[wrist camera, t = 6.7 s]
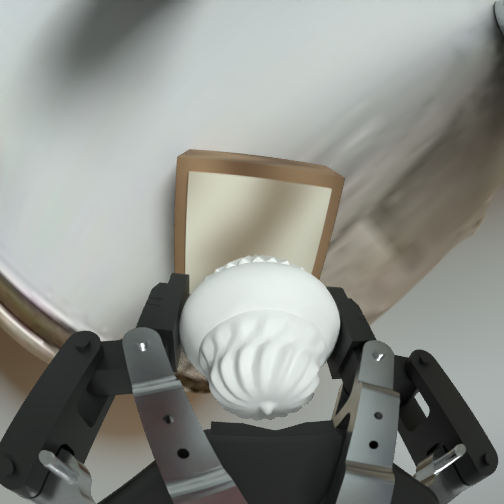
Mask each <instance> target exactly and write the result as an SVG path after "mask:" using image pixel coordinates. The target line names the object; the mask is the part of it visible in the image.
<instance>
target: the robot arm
mask: <svg viewBox="0 0 504 504" xmlns="http://www.w3.org/2000/svg"><path fill="white" fill-rule="evenodd" d="M495 14H496V19H497V22H498V25H499V27H500V30H501V32H502V34H503V37H504V0H498V1H496V3H495ZM326 288H327V290H328V291H329V293H330V294H331V296H332V297H333V299H334V301H335V303H336V306H337V308H338V312H339V316H340V331H339V336H338V339H337V343H336V345H335V348H334V350H333V352H332V354H331V355H330V357H329V358H328V360H327V363H328V366H329V370H330V373H331V376H332V379H342V381H343V383H342V385H341V386H340V389H339V393H338V397H337V400H336V404H335V408H334V411H333V415H332V418H331V420H330V421H320V422H305V423H302V424H299V425H295V426H292V427H288V428H285V429H281V430H270V429H265V428H260V427H256V426H252V425H247V424H244V423H226V422H211V429H207V430H203V429H202V427H201V426H200V423H199V421H198V419H197V417H196V415H195V413H194V411H193V408H192V406H191V404H190V402H189V400H188V397H187V395H186V393H185V391H184V388H183V386H182V384H181V382H180V380H179V379H176V377H175V375H174V372H177V367H178V362H179V357H180V352H181V347H182V344H181V341H180V335H179V321H180V316H181V312H182V309H183V307H184V305H185V303H186V301H187V299H188V298H189V274H180V273H172V275H171V277H170V280H169V282H168V284H167V283H159V284H157V285H156V286H155V287H154V288H153V289H152V290H151V293H150V295H149V298H148V300H147V302H146V305H145V307H144V309H143V311H142V314H141V316H140V319H139V321H138V324H137V326H136V328H134V329H132V330H130V331H128V332H127V333H126V334H125V335H124V337H123V339H121V340H116V341H102V342H101V341H100V338H99V337H98V335H97V334H95V333H93V332H91V331H80V332H77V333H74V334H73V335H71V336H70V337H69V338H68V340H67V341H66V342H65V344H64V345H63V346H62V348H61V349H60V350H59V352H58V353H57V354H56V356H55V357H54V358H53V360H52V361H51V363H50V364H49V365H48V367H47V368H46V370H45V371H44V373H43V374H42V376H41V377H40V379H39V380H38V381H37V383H36V384H35V386H34V387H33V389H32V390H31V392H30V393H29V395H28V397H27V398H26V399H25V401H24V403H23V404H22V406H21V408H20V409H19V411H18V413H17V414H16V416H15V417H14V419H13V421H12V422H11V424H10V426H9V428H8V429H7V431H6V433H5V435H4V437H3V438H2V440H1V442H0V484H2V485H3V486H4V487H6V488H7V489H9V490H11V491H13V492H15V493H16V494H18V495H19V496H21V497H22V498H25V499H27V500H29V501H31V502H33V503H35V504H96V503H95V502H94V500H93V499H92V496H91V491H90V490H91V483H92V479H91V475H90V472H89V471H88V469H87V468H86V467H85V466H84V462H85V460H86V458H87V455H88V453H89V451H90V449H91V446H92V444H93V442H94V440H95V437H96V435H97V433H98V431H99V429H100V427H101V425H102V422H103V420H104V418H105V416H106V414H107V412H108V410H109V408H110V406H111V404H112V402H113V400H114V398H115V396H116V395H120V394H133V395H134V398H135V402H136V405H137V409H138V412H139V415H140V419H141V422H142V425H143V428H144V431H145V433H146V437H147V439H148V442H149V445H150V448H151V450H152V453H153V456H154V458H155V461H153V462H152V463H151V464H150V465H148V466H147V467H146V468H145V469H143V470H142V471H141V472H140V473H138V474H137V475H136V476H134V477H133V478H132V479H131V480H129V481H128V482H127V483H125V484H124V485H123V486H121V487H120V488H119V489H117V490H116V491H114V492H113V493H112V494H110V495H109V496H107V497H106V498H104V499H103V500H102V501H100V502H99V503H97V504H447V503H448V502H450V501H451V500H452V499H454V498H455V497H456V496H458V495H459V494H460V493H461V492H462V491H464V490H466V489H468V488H469V487H471V486H473V485H475V484H476V483H478V482H480V481H481V480H483V479H484V478H486V477H488V476H489V475H491V474H492V473H493V472H494V471H495V470H496V468H497V465H498V456H497V453H496V451H495V449H494V447H493V446H492V444H491V442H490V440H489V439H488V437H487V435H486V434H485V432H484V430H483V429H482V427H481V425H480V424H479V422H478V421H477V419H476V417H475V416H474V414H473V413H472V411H471V410H470V408H469V407H468V405H467V404H466V402H465V401H464V399H463V398H462V396H461V395H460V393H459V392H458V390H457V389H456V387H455V386H454V385H453V383H452V382H451V380H450V379H449V377H448V376H447V375H446V373H445V372H444V371H443V369H442V368H441V366H440V365H439V364H438V362H437V361H436V360H435V358H434V357H433V356H432V355H431V354H430V353H428V352H426V351H424V350H415V351H413V352H412V353H411V355H410V356H409V358H407V357H402V356H397V355H394V353H393V351H392V349H391V348H390V347H389V346H388V345H387V344H385V343H383V342H381V341H377V340H376V338H375V336H374V334H373V332H372V330H371V328H370V326H369V324H368V322H367V321H366V319H365V317H364V315H362V311H361V309H360V307H359V306H358V305H357V304H356V303H355V302H354V301H353V300H352V299H348V298H347V296H346V294H345V292H344V290H343V289H342V288H340V287H326ZM418 392H420V393H421V395H422V396H423V398H424V400H425V401H426V403H427V405H428V406H429V409H430V413H429V416H428V417H427V418H426V416H425V414H424V412H423V411H422V409H421V407H420V406H419V404H418V402H417V401H416V399H415V398H414V396H415V395H416V394H417V393H418ZM397 430H398V432H399V433H400V435H401V437H402V439H403V441H404V443H405V445H406V447H407V449H408V451H409V453H410V455H411V457H412V459H413V461H414V463H415V465H416V467H417V468H416V473H415V474H414V476H413V477H412V476H411V475H409V474H408V473H407V472H405V471H404V470H402V469H401V468H400V467H398V466H397V465H396V464H394V463H393V460H394V453H395V446H396V438H397Z"/></svg>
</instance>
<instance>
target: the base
mask: <svg viewBox="0 0 504 504" xmlns="http://www.w3.org/2000/svg"><path fill="white" fill-rule="evenodd" d="M344 180H345V178H344V177H343V176H341V175H339V174H338V173H336V172H335V171H333V170H331V169H330V168H328V167H326V166H322V165H316V164H310V163H305V162H299V161H292V160H286V159H279V158H272V157H264V156H256V155H248V154H239V153H229V152H218V151H206V150H191V149H190V150H188V151H186V152H185V153H183V154H181V155H180V156H178V157H177V170H176V190H175V224H174V267H175V273H180V274H189V296H190V295H191V293H192V292H193V291H194V290H195V289H196V287H197V286H198V285H200V284H201V283H202V282H203V281H204V280H205V278H206V277H207V276H209V275H211V274H213V273H215V270H216V269H218V268H220V267H222V266H225V265H227V264H228V263H229V262H232V261H234V260H237V259H239V258H244V257H246V256H251V257H252V256H254V255H257V256H261V255H266V256H271V257H275V258H280V259H284V260H288V261H289V263H290V264H294V265H297V266H300V267H303V268H304V270H305V271H306V272H308V273H310V274H312V275H313V276H314V277H316V278H317V279H318V280H319V279H320V275H321V272H322V269H323V265H324V261H325V258H326V254H327V250H328V247H329V243H330V239H331V235H332V231H333V227H334V223H335V219H336V215H337V211H338V207H339V203H340V198H341V194H342V189H343V185H344Z"/></svg>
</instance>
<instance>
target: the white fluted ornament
mask: <svg viewBox="0 0 504 504" xmlns="http://www.w3.org/2000/svg"><path fill="white" fill-rule="evenodd" d="M339 331H340V316H339V312H338V308H337V306H336V303H335V301H334V299H333V297H332V296H331V294H330V293H329V291H328V290H327V288H326V287H325V286H324V285H323V284H322V283H321V282H320V281H319V280H318V279H317V278H316V277H314V276H313V275H312V274H310V273H308V272H306V271H305V270H304V268H303V267H300V266H297V265H294V264H290V263H289V261H288V260H284V259H280V258H275V257H271V256H266V255H261V256H257V255H254V256H252V257H251V256H246V257H244V258H239V259H237V260H234V261H232V262H229V263H228V264H227V265H225V266H222V267H220V268H218V269H216V270H215V273H213V274H211V275H209V276H207V277H206V278H205V280H204V281H203V282H202V283H201V284H200V285H198V286H197V287H196V289H195V290H194V291H193V292H192V293H191V295H190V296H189V298H188V299H187V301H186V303H185V305H184V307H183V309H182V312H181V316H180V321H179V335H180V341H181V344H182V347H183V349H184V352H185V354H186V355H187V357H188V359H189V360H190V362H191V363H192V365H193V366H194V367H195V368H196V369H197V370H198V371H199V372H200V373H201V374H202V375H203V376H204V377H206V379H207V380H208V381H209V388H210V391H211V393H212V395H213V396H214V397H215V399H216V400H217V401H218V403H219V404H220V405H221V406H222V407H223V408H224V409H225V410H227V411H229V412H230V413H233V414H236V415H237V416H239V417H241V418H246V419H247V418H252V419H254V420H261V419H265V418H266V419H269V420H272V419H274V418H275V417H285V416H287V415H288V413H293V412H296V411H298V410H299V409H301V408H302V405H305V404H307V403H308V402H309V401H310V400H311V399H312V398H313V395H314V391H315V390H316V389H317V387H318V386H319V384H320V379H319V376H318V371H319V369H320V368H321V367H322V366H323V365H324V364H325V363H326V361H327V360H328V358H329V357H330V355H331V354H332V352H333V350H334V348H335V345H336V343H337V339H338V336H339Z"/></svg>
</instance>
